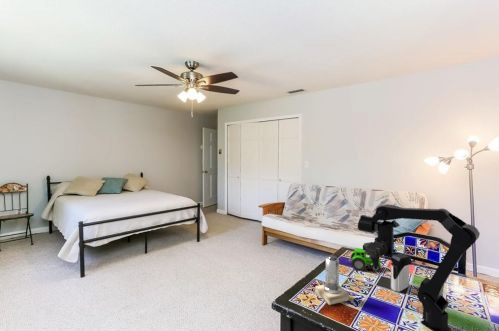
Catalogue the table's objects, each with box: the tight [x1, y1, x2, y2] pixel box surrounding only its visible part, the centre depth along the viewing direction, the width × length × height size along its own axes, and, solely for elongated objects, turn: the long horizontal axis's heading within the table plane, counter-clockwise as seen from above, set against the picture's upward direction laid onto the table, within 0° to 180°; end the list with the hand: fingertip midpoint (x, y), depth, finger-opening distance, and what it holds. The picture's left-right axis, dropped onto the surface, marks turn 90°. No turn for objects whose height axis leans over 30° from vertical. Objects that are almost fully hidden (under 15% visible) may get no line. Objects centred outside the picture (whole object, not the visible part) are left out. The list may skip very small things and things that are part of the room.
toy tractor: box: [348, 247, 382, 273], centre depth 137 cm, size 11×16×10 cm
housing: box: [323, 254, 342, 294], centre depth 109 cm, size 7×7×14 cm
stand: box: [314, 283, 350, 306], centre depth 109 cm, size 10×10×3 cm
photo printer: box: [390, 265, 410, 292], centre depth 116 cm, size 10×4×12 cm, turn 123°
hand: (385, 273), depth 102 cm, fingers open, 9 cm apart
